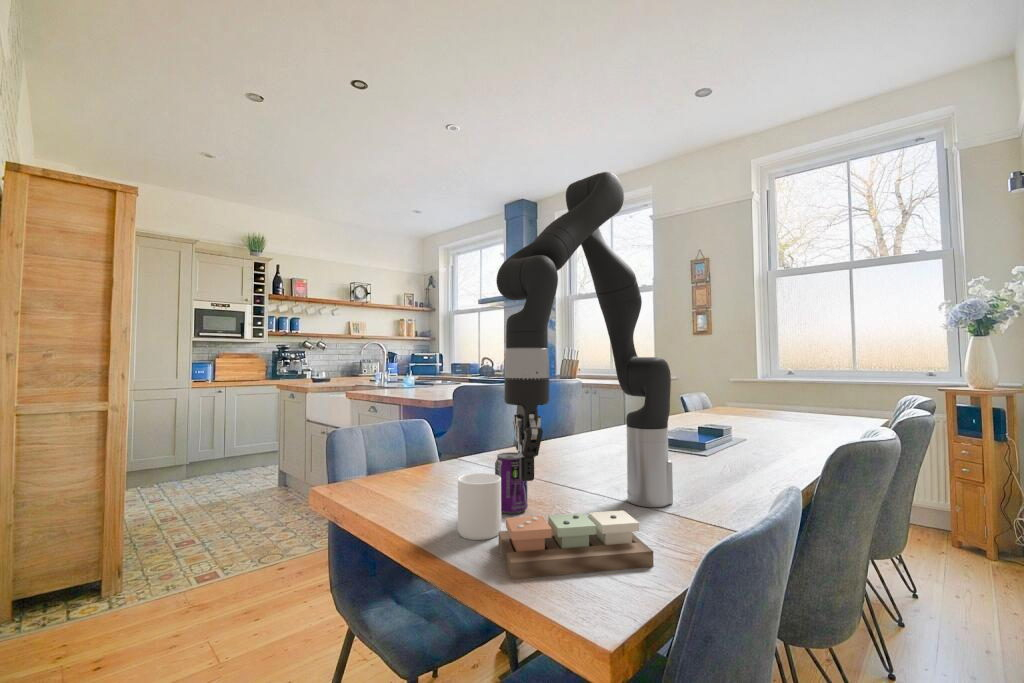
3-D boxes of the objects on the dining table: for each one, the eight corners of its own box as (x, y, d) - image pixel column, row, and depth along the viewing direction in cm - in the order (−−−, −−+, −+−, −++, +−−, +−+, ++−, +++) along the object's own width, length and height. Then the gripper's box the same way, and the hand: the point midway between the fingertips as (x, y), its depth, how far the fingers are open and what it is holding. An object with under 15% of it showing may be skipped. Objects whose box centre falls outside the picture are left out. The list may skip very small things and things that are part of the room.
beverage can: (524, 516, 98) (524, 459, 99) (491, 514, 100) (491, 457, 100) (530, 506, 105) (529, 452, 106) (499, 504, 107) (499, 451, 107)
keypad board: (620, 536, 87) (620, 522, 87) (653, 566, 74) (653, 551, 74) (498, 545, 83) (498, 531, 83) (510, 578, 70) (510, 562, 71)
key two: (583, 535, 83) (583, 511, 83) (596, 549, 76) (596, 524, 76) (548, 537, 81) (548, 514, 82) (558, 552, 75) (558, 527, 75)
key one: (623, 532, 84) (623, 509, 84) (639, 546, 78) (639, 521, 78) (589, 534, 83) (589, 511, 83) (602, 549, 76) (602, 524, 77)
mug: (459, 519, 97) (459, 469, 97) (499, 518, 97) (499, 468, 98) (456, 541, 85) (456, 484, 85) (502, 540, 85) (502, 483, 86)
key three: (542, 538, 81) (542, 514, 81) (551, 553, 75) (551, 527, 75) (505, 541, 80) (505, 516, 80) (512, 556, 74) (512, 530, 74)
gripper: (559, 376, 73) (559, 489, 72) (539, 374, 86) (539, 469, 85) (511, 376, 72) (511, 491, 71) (499, 374, 85) (498, 471, 84)
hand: (526, 479), depth 78 cm, fingers closed
